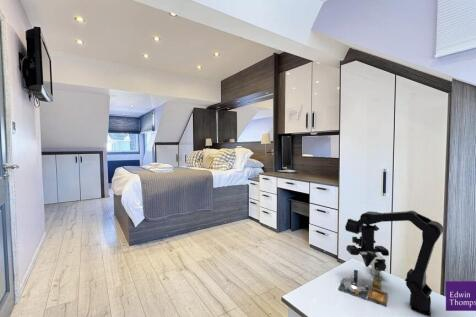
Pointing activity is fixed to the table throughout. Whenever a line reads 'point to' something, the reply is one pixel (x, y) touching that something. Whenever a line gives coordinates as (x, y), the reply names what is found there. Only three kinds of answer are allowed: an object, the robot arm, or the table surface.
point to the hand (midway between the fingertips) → (366, 266)
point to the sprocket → (354, 284)
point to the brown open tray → (377, 296)
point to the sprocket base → (360, 295)
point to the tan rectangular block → (376, 283)
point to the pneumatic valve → (378, 265)
